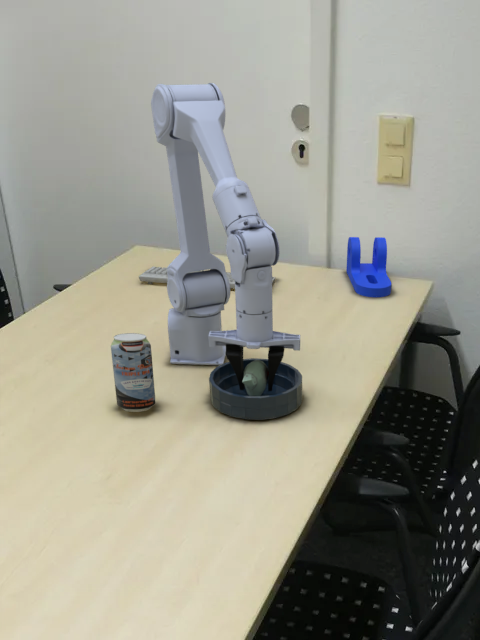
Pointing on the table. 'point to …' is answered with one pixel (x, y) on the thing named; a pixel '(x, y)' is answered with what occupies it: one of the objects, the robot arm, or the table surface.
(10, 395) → the table surface
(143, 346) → the beverage can
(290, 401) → the bowl
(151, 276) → the keyboard
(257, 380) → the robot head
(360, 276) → the bracket
